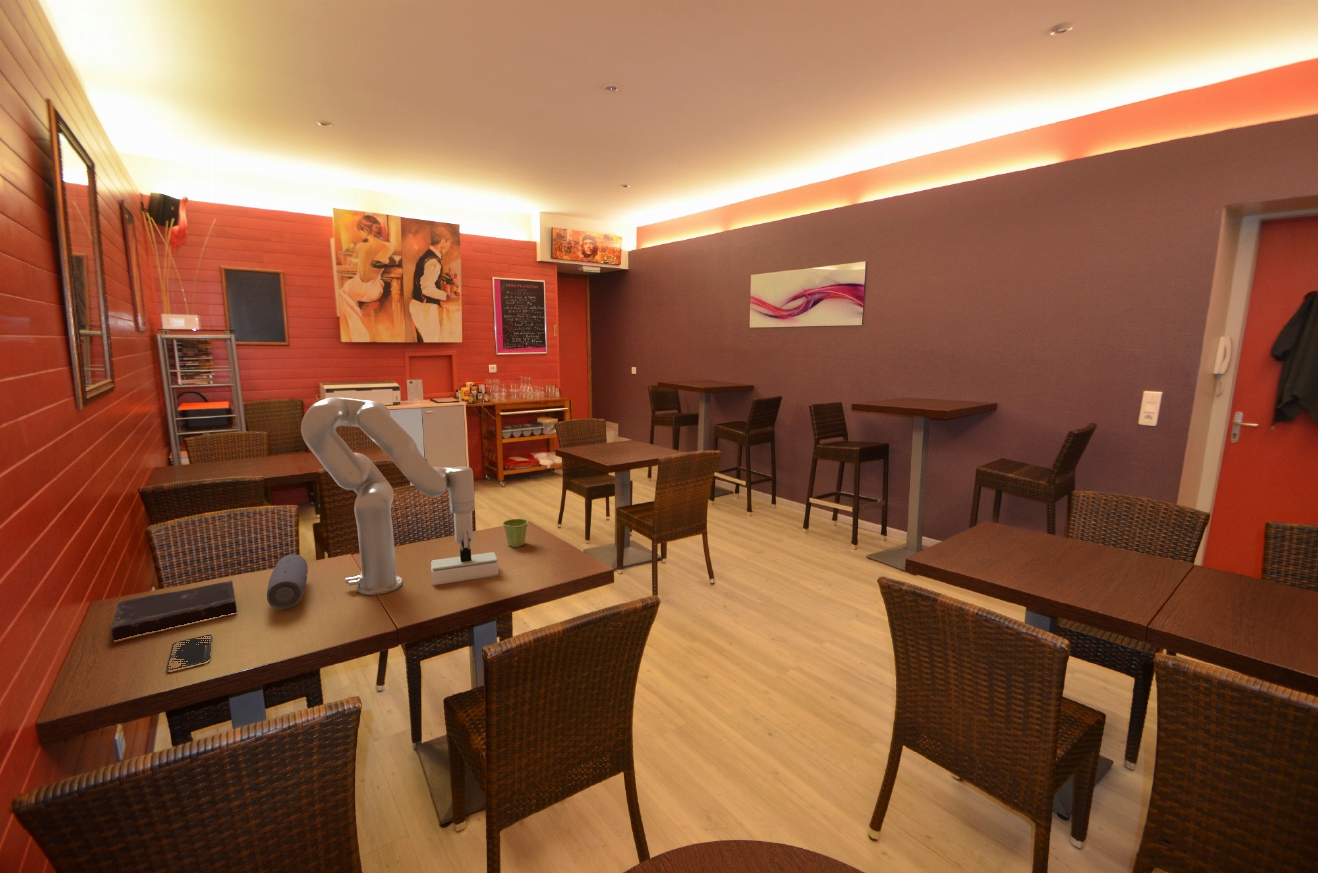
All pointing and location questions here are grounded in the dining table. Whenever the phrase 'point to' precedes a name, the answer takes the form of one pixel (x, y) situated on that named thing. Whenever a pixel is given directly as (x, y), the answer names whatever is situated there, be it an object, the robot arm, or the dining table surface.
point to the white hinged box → (464, 573)
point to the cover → (457, 562)
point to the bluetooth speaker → (287, 582)
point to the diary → (172, 609)
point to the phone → (191, 652)
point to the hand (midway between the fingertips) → (466, 560)
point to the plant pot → (515, 531)
